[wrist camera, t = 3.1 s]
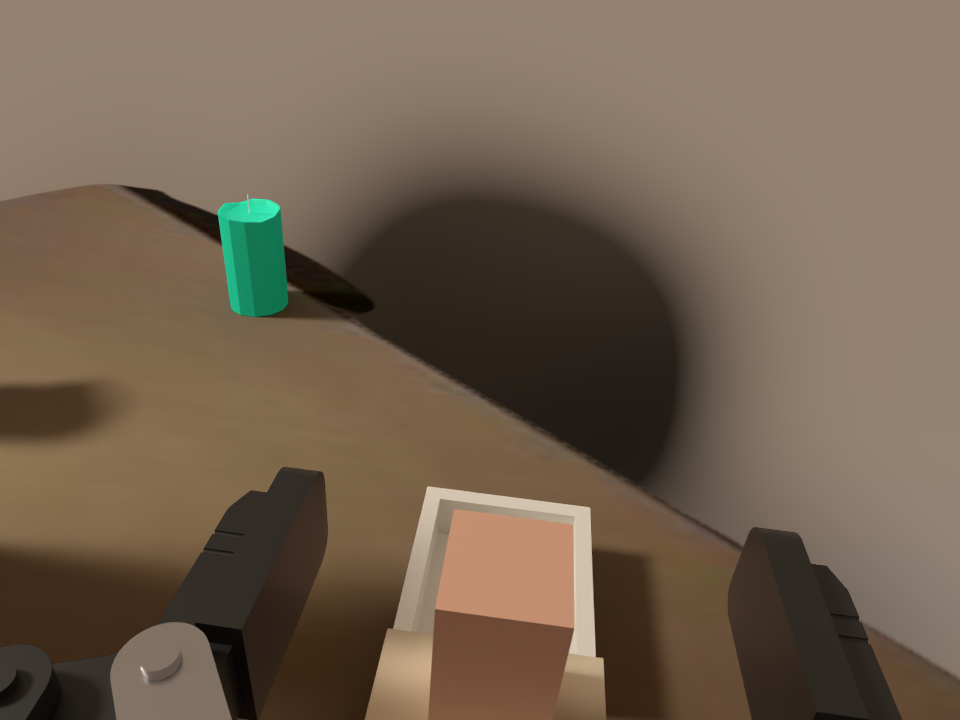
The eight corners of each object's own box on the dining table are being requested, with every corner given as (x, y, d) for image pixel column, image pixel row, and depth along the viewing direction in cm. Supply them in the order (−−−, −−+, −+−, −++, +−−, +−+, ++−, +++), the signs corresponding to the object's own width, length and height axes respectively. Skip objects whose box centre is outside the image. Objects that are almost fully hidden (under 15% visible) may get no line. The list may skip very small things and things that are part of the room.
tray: (584, 713, 39) (596, 670, 37) (389, 685, 39) (390, 641, 37) (580, 548, 49) (589, 507, 47) (425, 528, 49) (427, 486, 47)
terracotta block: (539, 772, 30) (574, 628, 25) (425, 755, 30) (434, 608, 25) (543, 667, 34) (573, 524, 29) (442, 653, 35) (453, 508, 29)
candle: (291, 290, 77) (283, 184, 71) (285, 317, 72) (275, 206, 66) (235, 289, 76) (221, 182, 70) (224, 316, 71) (208, 204, 65)
